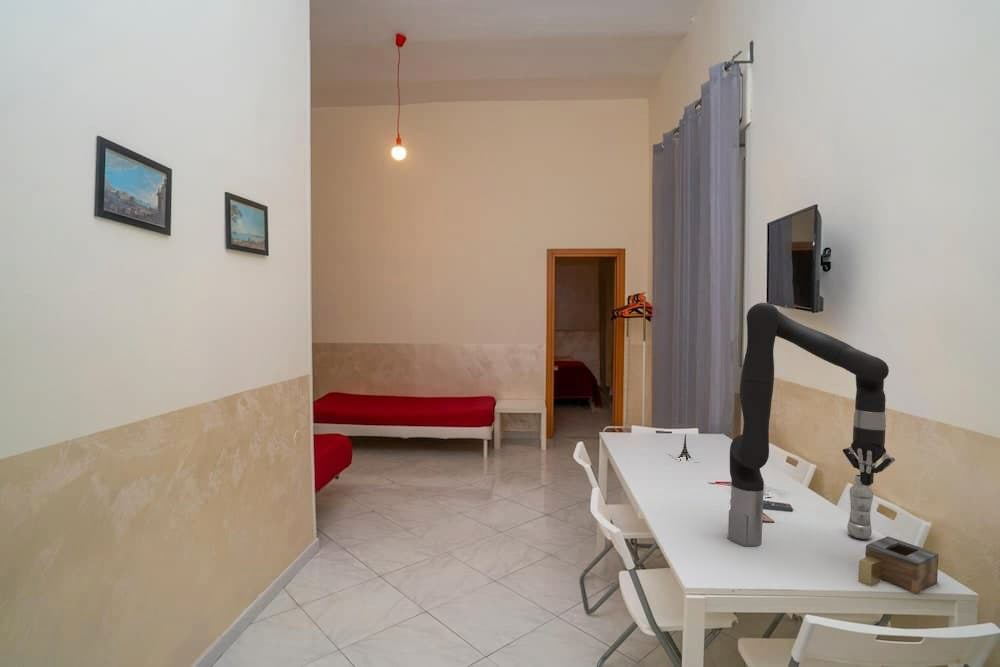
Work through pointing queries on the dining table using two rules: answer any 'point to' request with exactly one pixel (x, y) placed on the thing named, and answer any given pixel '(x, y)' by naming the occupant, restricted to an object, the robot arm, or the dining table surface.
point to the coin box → (905, 564)
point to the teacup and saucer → (765, 489)
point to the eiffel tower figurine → (684, 451)
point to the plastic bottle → (860, 510)
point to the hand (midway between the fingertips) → (866, 485)
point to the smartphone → (767, 519)
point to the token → (869, 571)
